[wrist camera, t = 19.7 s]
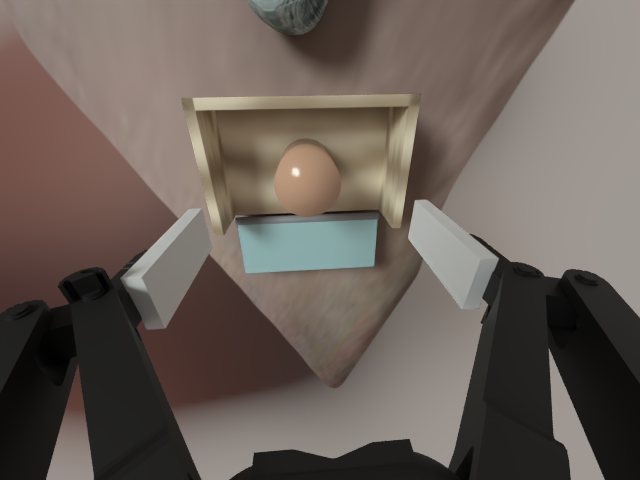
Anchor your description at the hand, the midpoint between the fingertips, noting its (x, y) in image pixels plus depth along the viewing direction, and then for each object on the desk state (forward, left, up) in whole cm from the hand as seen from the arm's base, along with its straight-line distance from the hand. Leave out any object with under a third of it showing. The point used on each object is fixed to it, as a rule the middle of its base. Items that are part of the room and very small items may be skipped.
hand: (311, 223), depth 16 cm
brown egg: (0, 0, -18) cm, 18 cm away
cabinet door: (+8, 0, -18) cm, 20 cm away
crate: (0, 0, -21) cm, 21 cm away
